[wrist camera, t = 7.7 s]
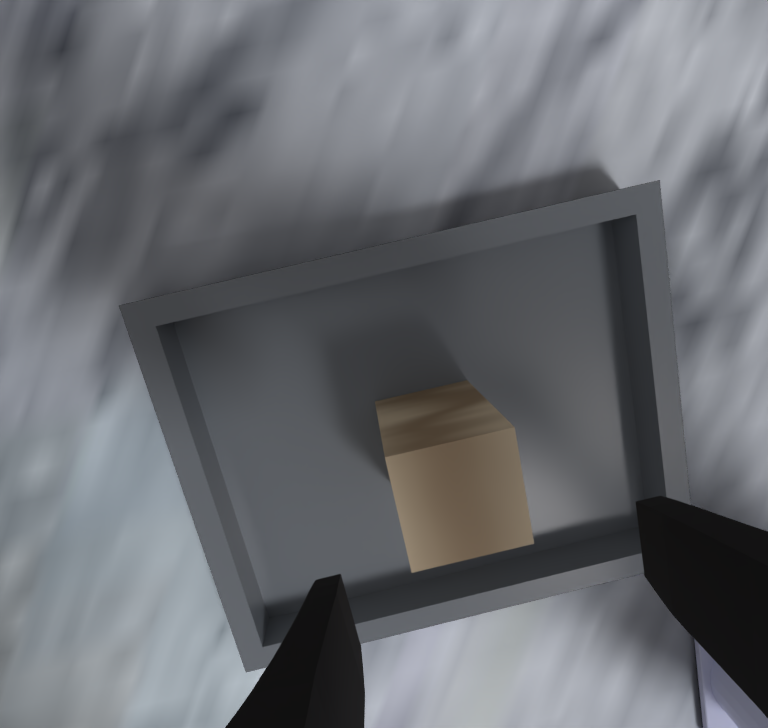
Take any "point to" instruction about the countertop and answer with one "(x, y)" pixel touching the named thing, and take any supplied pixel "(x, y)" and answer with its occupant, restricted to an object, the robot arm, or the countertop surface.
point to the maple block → (453, 475)
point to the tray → (412, 374)
